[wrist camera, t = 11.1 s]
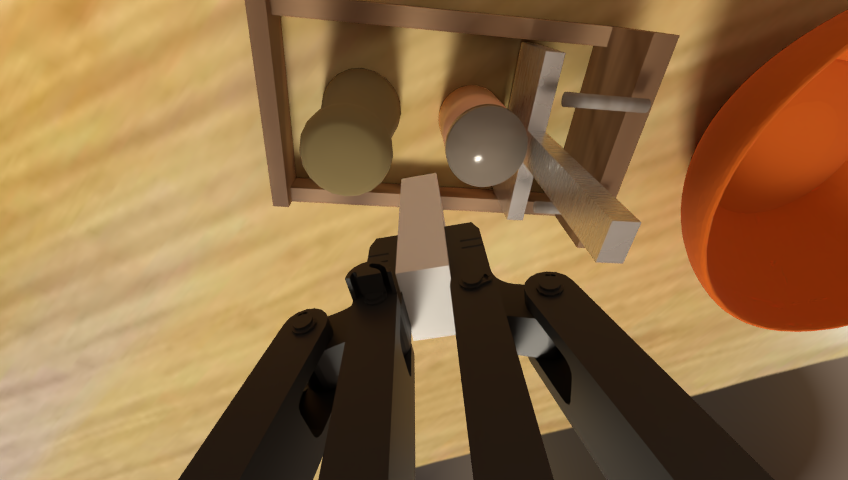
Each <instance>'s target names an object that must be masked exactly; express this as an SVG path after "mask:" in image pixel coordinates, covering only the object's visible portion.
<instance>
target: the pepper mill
mask: <svg viewBox="0 0 848 480" xmlns="http://www.w3.org/2000/svg"><path fill="white" fill-rule="evenodd" d="M400 115H401V111H400V101H399V99H398V96H397V94H396V91H395V89H394V88H393V87H392V85H391V84H390V83H389V82H388V80H387V79H385V78H384V77H382V76H381V75H379V74H378V73H376V72H374V71H371V70H367V69H363V68H358V69H349V70H346V71H344V72H342V73H340V74H338V75H337V76H336V77H335V78H334V79H333V80H331V81H330V82H329V84H328V86H327V88H326V90H325V92H324V95H323V100H322V106H321V109H320V110H319V111H317V112H316V113H315V114H314V115H313V116H312V117H311V118H310V119H309V120H308V121H307V123H306V125H305V127H304V129H303V131H302V133H301V138H300V156H301V160H302V164H303V167H304V168H305V170H306V172H307V173H308V175H309V177H310V178H311V179H312V180H313V181H314V182H315V183H316V184H317V185H318V186H320V187H321V188H323V189H325V190H327V191H329V192H331V193H332V194H337V195H342V196H357V195H361V194H364V193H366V192H369V191H371V190H372V189H374V188H375V187H376V186H377V185H379V184H380V183H381V182H382V181H383V179H384V178H385V176H386V175H387V173H388V171H389V170H390V166H391V162H392V158H393V150H392V140H391V138H392V136H393V134H394V132H395V130H396V129H397V127H398V124H399V119H400Z"/></svg>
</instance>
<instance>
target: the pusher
mask: <svg viewBox="0 0 848 480" xmlns="http://www.w3.org/2000/svg"><path fill="white" fill-rule="evenodd" d="M564 57H565V53H564V52H561V51H558V50H555V49H552V48H549V47H546V46H544V45H541V44H537V43H527V42H521V47H520V52H519V57H518V62H517V67H516V72H515V77H514V82H513V87H512V92H511V97H510V102H509V107H508V110H510V111H511V112H513V113H514V114H515V115H516V116H517V117H518V118H519V120H520V121H521V122H522V124H523V125H524V127H525V130H526V133H527V137H528V148H527V153H526V156H525V159H524V161H523V163H522V165H521V166H520V168H519V169H518V170H517V171H516V173H515V174H514V175H512V176H511V177H510V178H509V179H507V180H506V181H504V182H502V183H500V184H497V185H494V186H493V188H492V189H493V191H494V193H495V195H496V197H497V199H498V201H499V203H500V206H501V208H502V210H503V212H504V214H505V216H506V218H507V219H509V220H523V217H524V213H525V209H526V205H527V201H528V197H529V193H530V189H531V186H532V182H533V178H535V180H536V181H537V182H538V184H539V185H540V186H541V188H542V189H543V191H544V192H545V193H546V195H547V196H548V197H549V199H550V200H551V202H552V203H553V204H554V206H555V207H556V208H557V210H558V211H559V212H560V214H561V215H562V217H563V218H564V219H565V221H566V222H567V223H568V225H569V226H570V228H571V229H572V230H573V232H574V233H575V234H576V236H577V237H578V239H579V240H580V241H581V243H582V244H583V245H584V247H585V248H586V250H587V251H588V252H589V254H590V255H591V256H592V258H593V259H594V261H595V262H601V263H623V262H624V260H625V258H626V256H627V253H628V251H629V249H630V247H631V244H632V242H633V240H634V238H635V236H636V233H637V231H638V229H639V227H640V224H641V222H640V221H639V220H638V219H637V218H636V217H635V216H634V215H633V214H632V213H631V212H630V211H629V210H628V209H627V208H626V207H625V206H624V205H622V204H621V203H620V202H619V201H618V200H617V199H616V198H615V197H614V196H613V195H612V194H611V193H610V192H609V191H608V190H607V189H606V188H604V187H603V186H602V185H601V184H600V183H599V182H598V181H597V180H596V179H595V178H594V177H593V176H592V175H591V174H590V173H589V172H587V171H586V170H585V169H584V168H583V167H582V166H581V165H580V164H579V163H578V162H577V161H576V160H575V159H574V158H573V157H572V156H571V155H569V154H568V153H567V152H566V151H565V150H564V149H563V148H562V147H561V146H560V145H559V144H558V143H557V142H556V141H555V140H554V139H552V138H551V137H550V136H549V135H548V134H547V133H546V132H545V131H546V127H547V123H548V119H549V116H550V112H551V108H552V104H553V100H554V96H555V92H556V88H557V84H558V81H559V77H560V73H561V69H562V65H563V61H564Z"/></svg>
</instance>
